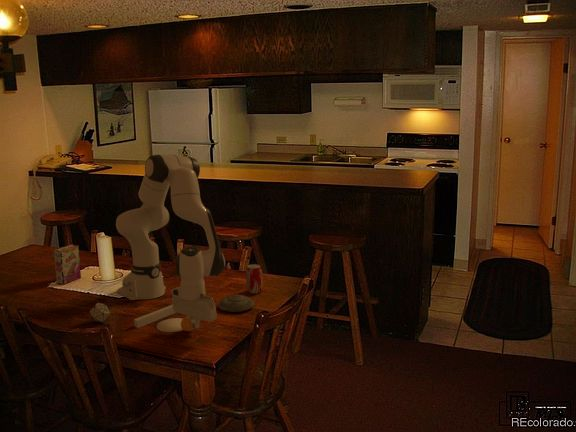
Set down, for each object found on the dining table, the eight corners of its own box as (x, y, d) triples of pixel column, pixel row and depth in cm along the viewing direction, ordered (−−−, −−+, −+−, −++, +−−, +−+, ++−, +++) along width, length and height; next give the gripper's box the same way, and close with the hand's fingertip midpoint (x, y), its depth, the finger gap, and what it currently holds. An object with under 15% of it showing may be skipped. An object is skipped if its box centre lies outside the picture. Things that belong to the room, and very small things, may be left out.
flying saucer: (241, 317, 233) (241, 304, 232) (210, 310, 240) (210, 298, 239) (261, 304, 246) (261, 292, 245) (231, 299, 253) (231, 287, 252)
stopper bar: (134, 326, 225) (134, 319, 224) (174, 310, 240) (174, 303, 239) (137, 328, 224) (137, 320, 223) (178, 311, 239) (177, 304, 238)
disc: (149, 326, 225) (149, 326, 225) (175, 316, 235) (175, 315, 235) (171, 335, 217) (171, 334, 217) (198, 323, 227) (197, 323, 227)
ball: (185, 336, 218) (176, 326, 220) (196, 331, 222) (187, 321, 225) (189, 326, 215) (179, 316, 218) (200, 321, 219) (191, 311, 222)
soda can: (260, 295, 256) (259, 268, 254) (244, 294, 258) (243, 268, 255) (264, 289, 263) (263, 263, 260) (249, 288, 264) (248, 263, 262)
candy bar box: (64, 285, 273) (60, 251, 269) (56, 283, 275) (52, 250, 271) (82, 278, 282) (78, 245, 279) (74, 276, 285) (71, 244, 281)
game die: (98, 329, 232) (91, 306, 235) (118, 321, 232) (111, 298, 235) (88, 327, 223) (81, 303, 226) (108, 319, 223) (102, 294, 226)
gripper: (219, 294, 211) (221, 330, 213) (181, 284, 223) (183, 319, 226) (206, 299, 206) (208, 336, 209) (168, 289, 218) (170, 324, 221)
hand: (195, 327), depth 217 cm, fingers closed
